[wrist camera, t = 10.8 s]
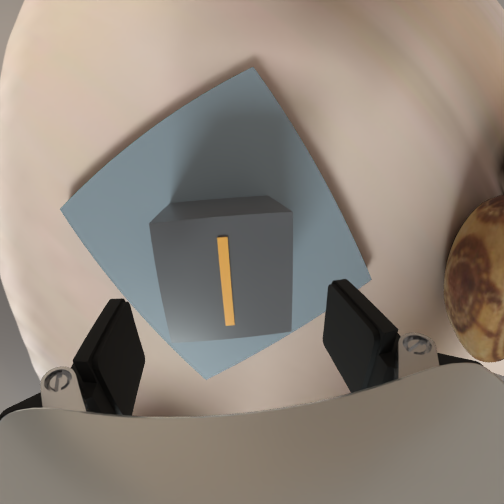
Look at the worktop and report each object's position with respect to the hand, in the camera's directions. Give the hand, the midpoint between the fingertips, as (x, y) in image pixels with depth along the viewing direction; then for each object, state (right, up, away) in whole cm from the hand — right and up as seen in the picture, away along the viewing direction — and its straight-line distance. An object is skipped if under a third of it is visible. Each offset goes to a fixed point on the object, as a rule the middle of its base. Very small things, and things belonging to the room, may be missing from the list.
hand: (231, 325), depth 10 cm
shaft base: (-2, +4, +11) cm, 12 cm away
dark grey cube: (-1, +3, +10) cm, 10 cm away
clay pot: (+29, +2, +16) cm, 33 cm away
